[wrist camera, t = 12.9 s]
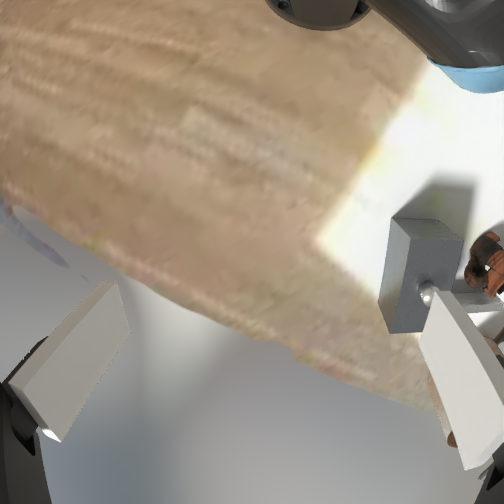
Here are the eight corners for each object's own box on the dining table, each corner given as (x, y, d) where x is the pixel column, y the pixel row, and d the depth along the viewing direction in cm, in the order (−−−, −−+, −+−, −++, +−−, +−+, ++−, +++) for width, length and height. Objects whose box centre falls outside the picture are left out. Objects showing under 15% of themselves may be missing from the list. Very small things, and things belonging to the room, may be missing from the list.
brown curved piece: (502, 221, 37) (531, 256, 32) (485, 257, 44) (510, 289, 39) (458, 244, 37) (489, 286, 32) (442, 281, 44) (467, 319, 39)
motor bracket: (391, 217, 40) (416, 244, 31) (510, 226, 37) (545, 250, 28) (377, 302, 45) (393, 342, 36) (491, 298, 42) (516, 330, 33)
